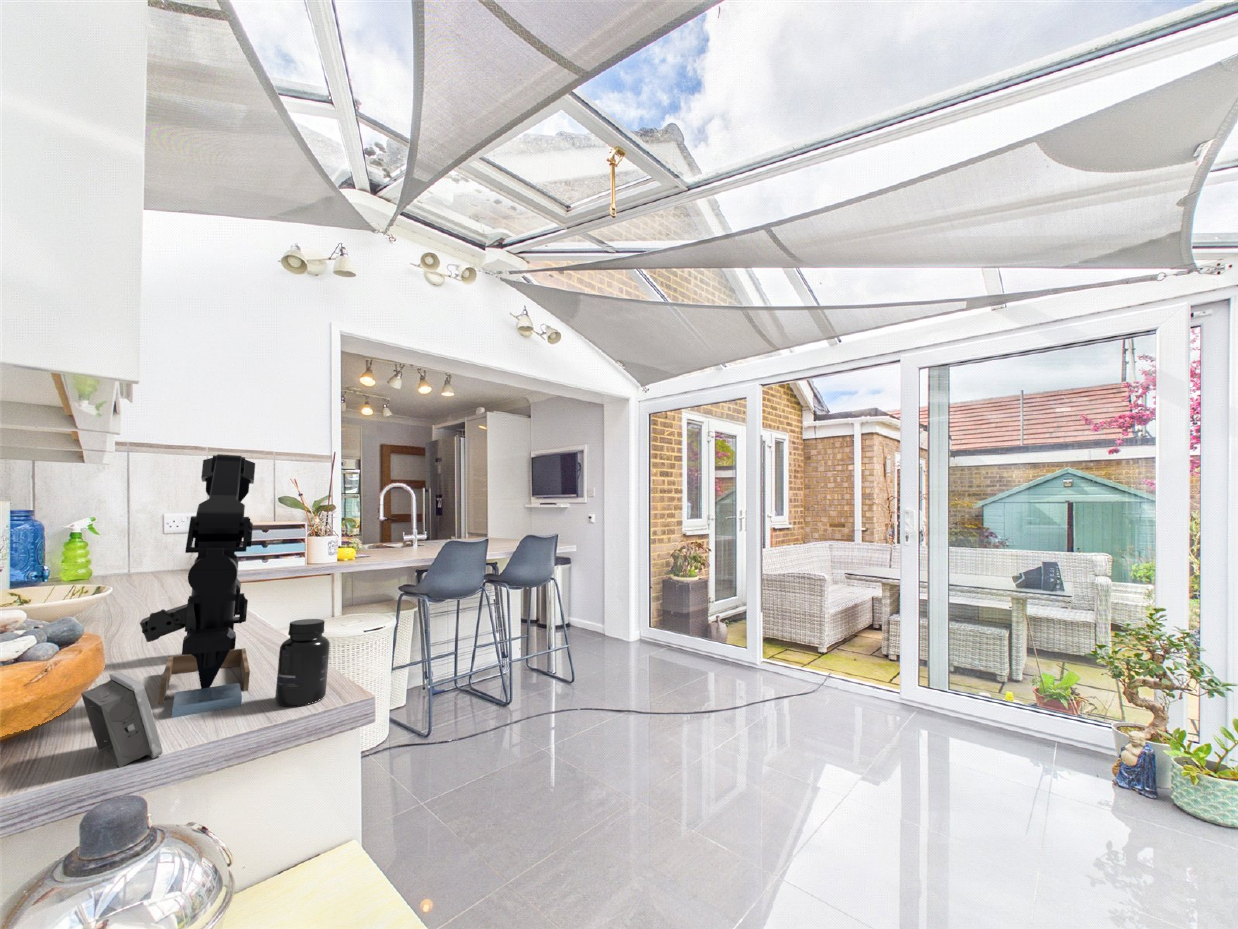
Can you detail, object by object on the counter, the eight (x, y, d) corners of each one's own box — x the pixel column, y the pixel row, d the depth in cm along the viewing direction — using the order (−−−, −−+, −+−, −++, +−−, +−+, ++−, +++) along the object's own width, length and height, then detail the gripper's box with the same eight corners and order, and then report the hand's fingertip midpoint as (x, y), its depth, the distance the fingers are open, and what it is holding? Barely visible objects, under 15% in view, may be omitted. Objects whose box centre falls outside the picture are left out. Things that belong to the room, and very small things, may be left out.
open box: (167, 674, 94) (169, 656, 95) (244, 664, 101) (245, 648, 101) (157, 704, 80) (159, 683, 80) (248, 690, 86) (249, 671, 87)
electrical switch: (164, 757, 62) (162, 678, 63) (104, 780, 58) (103, 695, 58) (136, 739, 68) (135, 666, 68) (80, 758, 63) (78, 680, 63)
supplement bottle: (270, 710, 78) (276, 626, 79) (280, 695, 84) (285, 618, 85) (323, 704, 80) (328, 624, 82) (328, 691, 87) (333, 616, 88)
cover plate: (173, 706, 81) (175, 692, 81) (238, 695, 86) (239, 683, 86) (171, 722, 74) (172, 707, 75) (240, 710, 79) (242, 696, 79)
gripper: (153, 584, 88) (143, 682, 86) (140, 598, 73) (128, 717, 71) (236, 580, 94) (228, 671, 93) (239, 593, 79) (230, 700, 78)
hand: (205, 688), depth 83 cm, fingers closed
